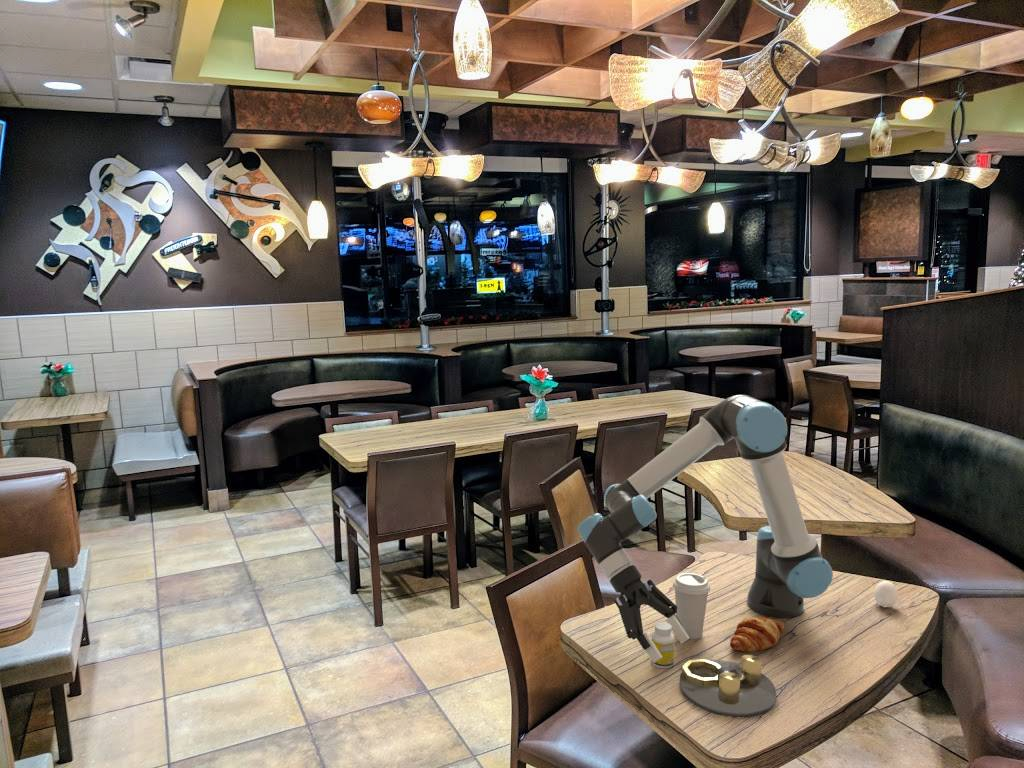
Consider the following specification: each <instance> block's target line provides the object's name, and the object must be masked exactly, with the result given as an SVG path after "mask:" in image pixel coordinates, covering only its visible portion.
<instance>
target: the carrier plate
mask: <svg viewBox="0 0 1024 768" xmlns="http://www.w3.org/2000/svg"><path fill="white" fill-rule="evenodd" d="M761 671H762V659H761V658H759V656H756V655H752V654H744V655H742V656H741V660H740V663H738V662H734V661H731V660H730V661H729V660H720V659H719V660H718V659H711V660H709V659H705V658H702V659H700V658H699V659H697V658H696V659H688V660H687V661H686V662H685V663H684V664H683V665H682V667H681V672H680V675H679V689H680V692H681V694H683V696H684V698H686V699H687V700H688V701H689V702H690V703H691V704H693V705H694V706H696V707H698V708H700V709H702V710H704V711H706V712H709V713H712V714H714V715H718V716H722V715H723V717H727V716H731V717H730V718H738V717H744V718H751V717H752V718H754V717H757V716H761V715H763V714H766V713H768V712H769V711H771V710H772V708H774V706H775V705H776V700H777V699H776V698H777V690H776V687H775V685H774V683H773V681H771V679H770V678H769V677H767V676H766V675H765V674H764V673H762V672H761ZM753 716H754V717H753Z"/></svg>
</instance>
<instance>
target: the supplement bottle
mask: <svg viewBox="0 0 1024 768" xmlns="http://www.w3.org/2000/svg"><path fill="white" fill-rule="evenodd" d="M651 640H652V641H653V643H654V644H655V646H656V648H657V649H658V651H659V652H660V654H661V655H662V658H660V659H659V660H657V661H656V662H654V663H653V661H652V660H651V659H650V662H651V664H652V665H653V666H654V667H656V668H659V669H669V668H672V667H673V666H674V661H675V660H674V657H675V634H673V631H672V626H671V625H670V624H669V623H667V622H666V621H659V622H658V621H657V622H656V623H655V624H654V631H653V632H652V634H651Z"/></svg>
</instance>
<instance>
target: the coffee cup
mask: <svg viewBox="0 0 1024 768" xmlns="http://www.w3.org/2000/svg"><path fill="white" fill-rule="evenodd" d="M672 587H673V589H674V596H675V597H674V598H675V599H674V600H675V605H676V606H677V613H675V615H676V617H677V618H678V620H679V621H680V623H681V624H682V627H683V629H684V630H685V632H686V633H687V635H688V636H689V639H688V640H698V639H700V638H701V637H702V636H703V630H704V623H705V619H706V618H705V616H706V610H707V602H708V597H709V592H710V591H711V585H710V582H709V581H708V578H706V577H705V576H703V575H701V574H697V573H693V572H692V573H691V572H685V573H679V574H678V575H676V578H675V579H674V581H673V582H672Z"/></svg>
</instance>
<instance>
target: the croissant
mask: <svg viewBox="0 0 1024 768" xmlns="http://www.w3.org/2000/svg"><path fill="white" fill-rule="evenodd" d="M784 628H785V625H784V621H783V622H782V621H778V620H777V619H774V618H772V619H769V618H768V617H766V616H760V617H758V618H757V617H754V616H753V617H746V618H744V619H742V620H741V621H740V622H739V623H738V624H737V625H736V629H735V631H734V633H733V636H732V637H731V639H730V642H729V646H730V647H731V649H733V650H736V651H743V652H746V653H754V652H758V651H759V652H761V651H764V650H765V651H766V650H767V649H769V648H772V647H774V646H776V645H777V644H778V642H779V640H780V637H781V635H782V632H784Z"/></svg>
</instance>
